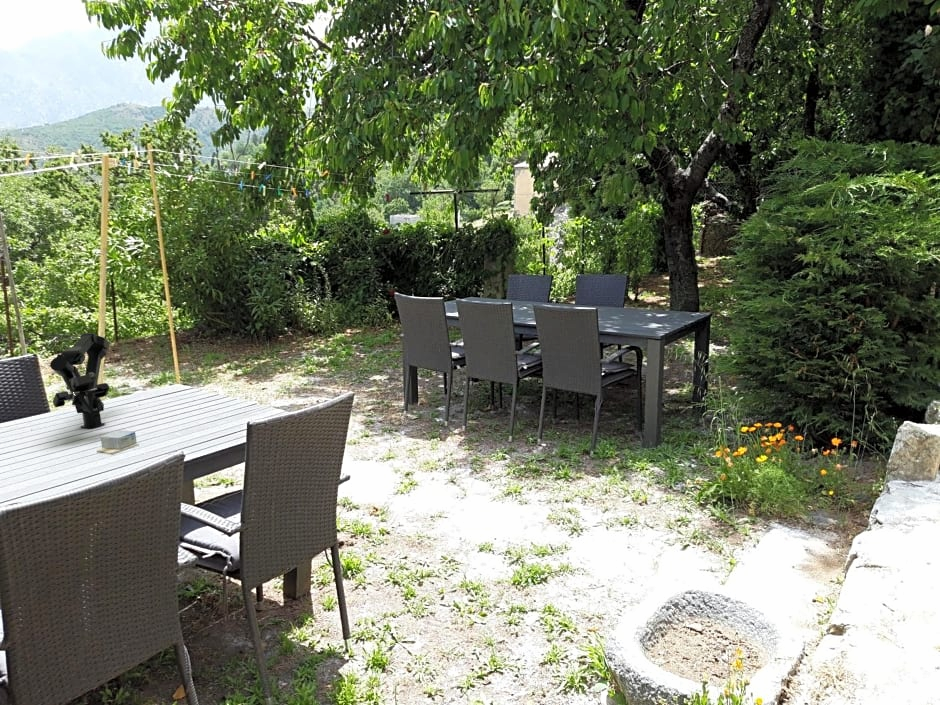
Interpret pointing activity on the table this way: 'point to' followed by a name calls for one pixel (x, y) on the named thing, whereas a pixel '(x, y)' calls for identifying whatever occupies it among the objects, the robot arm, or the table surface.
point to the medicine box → (118, 439)
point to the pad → (113, 451)
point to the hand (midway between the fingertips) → (91, 412)
